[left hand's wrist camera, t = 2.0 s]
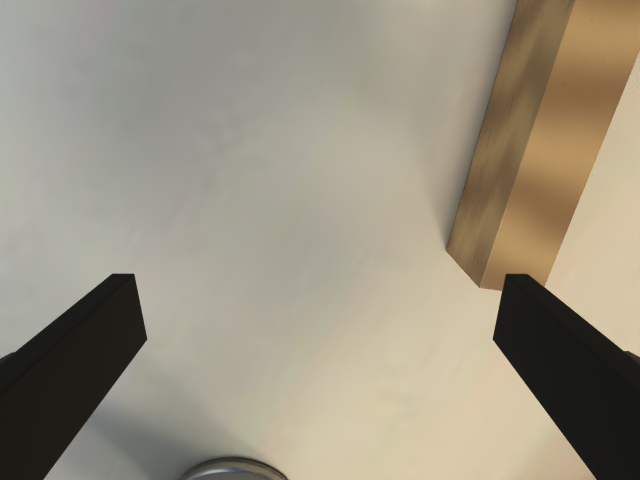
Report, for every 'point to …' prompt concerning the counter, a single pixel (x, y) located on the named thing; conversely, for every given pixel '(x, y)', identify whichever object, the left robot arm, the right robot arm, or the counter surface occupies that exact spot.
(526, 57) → the beam
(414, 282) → the counter surface
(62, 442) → the left robot arm
